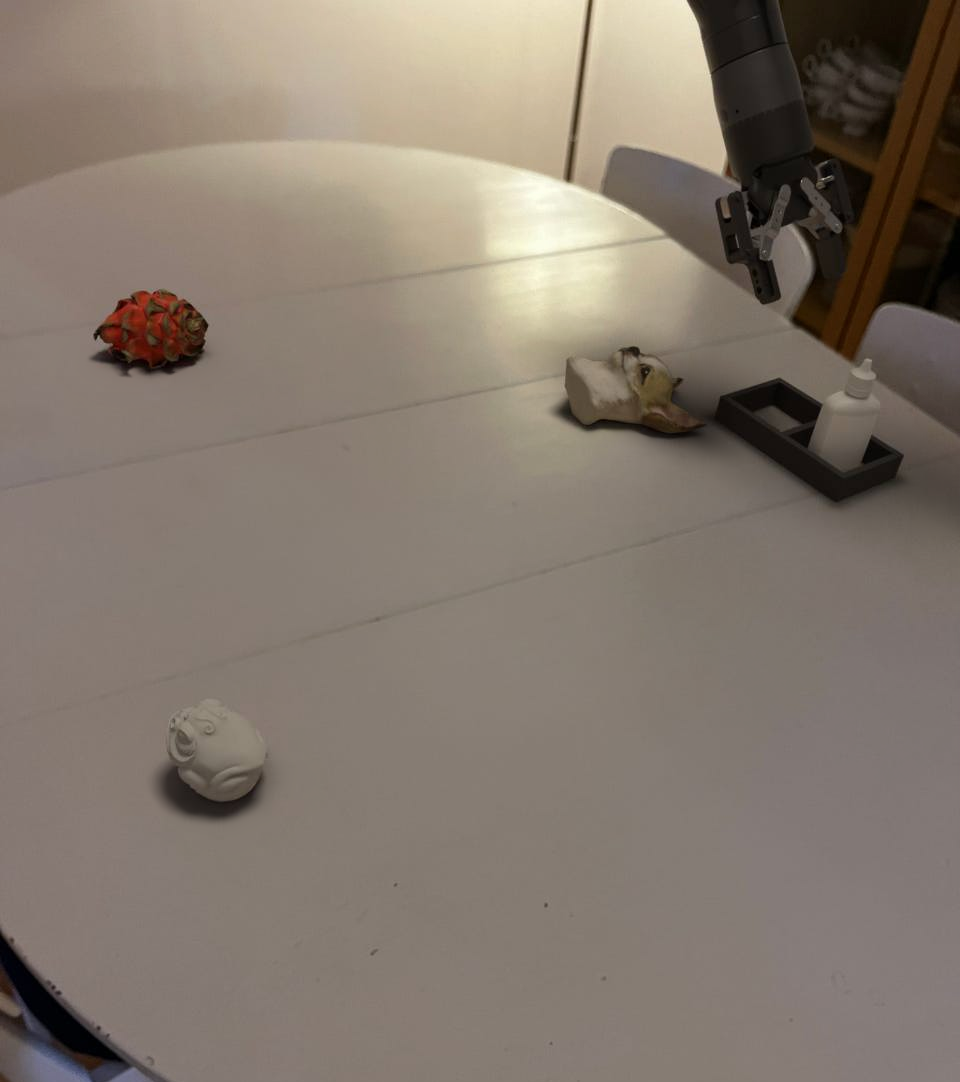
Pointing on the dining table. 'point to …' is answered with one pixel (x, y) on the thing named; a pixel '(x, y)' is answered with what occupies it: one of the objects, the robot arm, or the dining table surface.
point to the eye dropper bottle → (847, 421)
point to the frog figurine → (216, 750)
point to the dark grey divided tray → (802, 439)
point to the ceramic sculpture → (626, 391)
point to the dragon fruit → (153, 328)
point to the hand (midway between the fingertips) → (803, 289)
